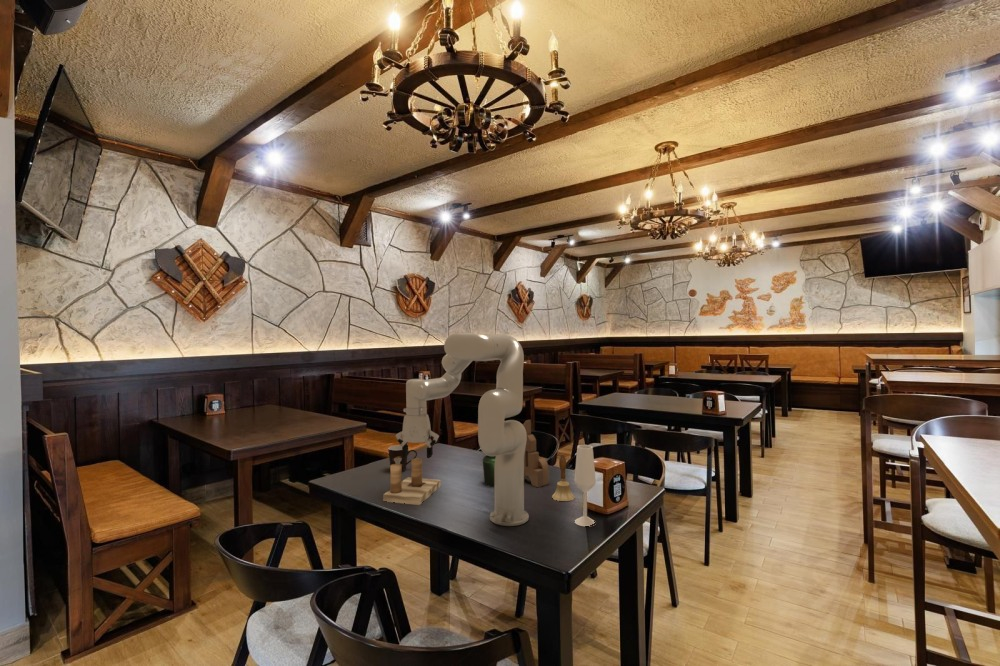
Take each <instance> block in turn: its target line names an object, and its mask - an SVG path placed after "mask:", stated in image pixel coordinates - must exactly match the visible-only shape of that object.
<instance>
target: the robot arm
mask: <svg viewBox="0 0 1000 666" xmlns="http://www.w3.org/2000/svg"><path fill="white" fill-rule="evenodd" d="M443 348H444V349H443V350H444V352H445V354H444V356H443V357H442V360H441V364H442V365H441V366H442V368H443V369H444V370H445V373H444V374H443V375H441V377H436V378H431V379H424V378H411V379H408V380H406V383H405V393H406V395H405V396H406V397H405V399H406V405H405V406H406V407H405V408H403V411H402V412H403V413H405V414H406V415H404V417H403V422H402V431H400V432H398V433H396V434H395V438H396V439H397V442H398V444H399V445H401V446H402V454H403V457H406V456H407V457H408V456H409V454H408V451H409V445H408V444H409V443H411V444H425V445H426V446H427V447H426V458H427V459H430V458H432V456H433V453H434V452H433V447H434V446H435V444H436V443H437V442H438V439H439V437H440V435H439V434H438V433H436V432H434V431H432V429H431V421H430V417H429V414H428V413H427V412H428V411H427V409H428V408H427V401H432V400H437V399H443V398H446V397H448V396H449V395H450V394H452V392H454V391H455V389H457V387H458V386H459V385H460V383H461V380H462V373H463V372H464V371H465V369H466V368H468V367H469V365H470V364H471V363H472V362H473V361H474V362H487V361H500V363H499V366H498V368H497V371H496V387H495V389H490V390H488V391H486V392H484V394H482V396H481V398H480V400H479V401H478V402H479V403H478V410H477V413H478V414H477V415H478V416H477V417H478V418H477V432H478V433H477V437H478V445H479V448H480V450H481V451H482V452H483V454H484V455H485V456H486V455H488V456H496V458H495V486H494V510H493V511H491V512H490V514H489V520H490V521H491V522H492V523H494V524H495V525H498V526H504V527H515V526H520V525H523V524H525V523H527V522H528V521H529V519H530V518H529V517H530V516H529V513H528V512H527V510H525V480H524V454H525V447H526V441H527V434H526V430H525V427H524V426H523V423H521V422H520V421H518V420H515V419H508V418H511V417H515V416H517V415H519V414H520V413H521V412H522V410H523V404H524V402H523V401H524V400H523V399H524V397H523V395H524V387H523V386H524V375H523V373H524V362H525V360H524V359H525V356H524V350H523V347H522V344H521V343H520V342H519V341H518V339H516V338H514V337H513V336H511V335H508V334H505V333H493V334H492V333H491V334H488V333H487V334H486V333H485V334H481V333H480V334H479V333H478V334H477V333H474V332H454V333H451V334H449V335H448V336H447V337H446V339H445V341H444V346H443ZM505 419H508V420H505ZM432 437H433V440H432Z"/></svg>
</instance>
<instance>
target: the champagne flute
mask: <svg viewBox="0 0 1000 666" xmlns="http://www.w3.org/2000/svg"><path fill="white" fill-rule="evenodd" d="M593 448H594V447H593V446H592V445H589V444H578V445H577V447H576V449H577V450H576V458H575V469H574V484H575V486H576V487H577V488H578V489H579V490H580V491H581V492H582V516H580V517H578V518H576V519H575V520H574V521H575V522H574V524H576V525H578V526H581V527H585V526H589V527H591V526H590V525H592V524H594V523H595V522H596V521H595V520H594V519H592V518H590V517H589V516H588V492H589V491H591V490H592V489H593V488H594V486H595V485H596V483H597V482H596V481H597V480H596V479H597V478H596V468H595V459H594V449H593ZM594 521H595V522H594Z"/></svg>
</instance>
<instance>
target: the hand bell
mask: <svg viewBox="0 0 1000 666" xmlns="http://www.w3.org/2000/svg"><path fill="white" fill-rule="evenodd" d="M558 464H559V469H560V481H557V484H556V489H555V492H554V493H553V494H552V495H551V498H553V500H554V501H556V500H557V501H556V502H559V501H570V500H573V499H574V498H576V497H575V495H574V494H573V493H572V491H571V485H570V482H568V481H566V480H567V479H566V468H567V458H566V456H565V454H564V453H561V454H560V457H559V461H558ZM574 500H575V499H574ZM574 500H573V501H574ZM570 502H571V501H570Z"/></svg>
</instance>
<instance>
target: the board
mask: <svg viewBox="0 0 1000 666" xmlns="http://www.w3.org/2000/svg"><path fill="white" fill-rule="evenodd" d="M389 467H390V468H389V470H390V480H389V481H390V485H389V487H390V489H389V490H387V491H386V492H385V493H383V495H382V501H387V502H386V503H393V502H395V503H394V504H402V505H415V506H416V505H417V506H420V505H421V504H423V503H424V502H425V501H426V500H427V499H428V498H429V497H431V496H432V495H433V494H434V493H435V492H436V491H437V490H438V489H440V488H441V487H440V486H441V479H434V478H432V479H430V478H422V486H421V487H411V477H405V479H403V480H402V476H403V475H402V473H403V472H402V465H401V464H392V465H390V464H389ZM432 493H433V494H432ZM431 494H432V495H431ZM423 501H424V502H423ZM422 502H423V503H422ZM404 503H405V504H404Z"/></svg>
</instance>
